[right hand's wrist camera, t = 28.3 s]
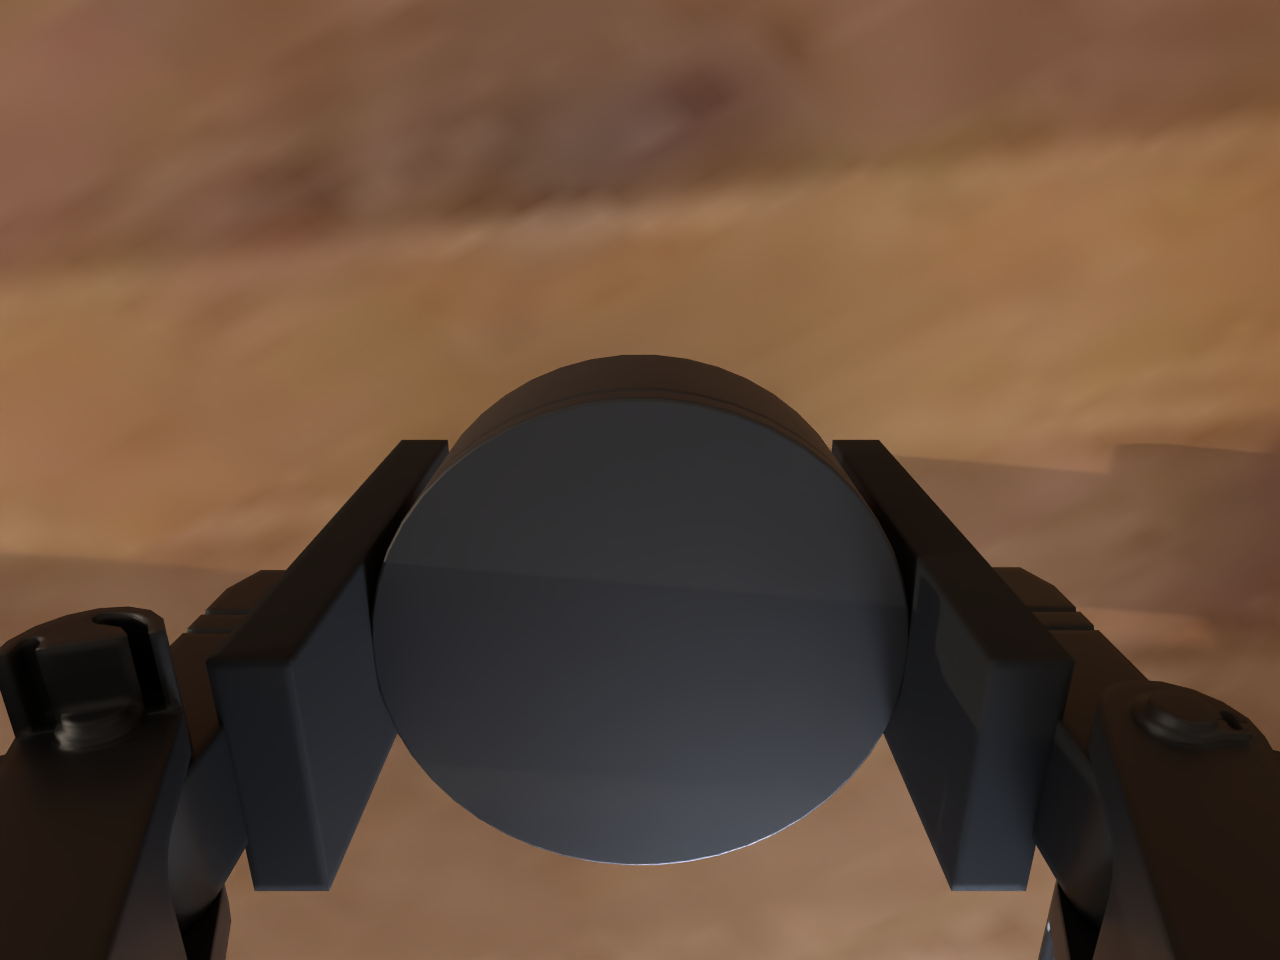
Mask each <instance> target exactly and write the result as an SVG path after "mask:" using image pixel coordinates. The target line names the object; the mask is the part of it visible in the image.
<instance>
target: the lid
mask: <svg viewBox="0 0 1280 960" xmlns="http://www.w3.org/2000/svg"><path fill="white" fill-rule="evenodd" d="M371 632H372V644H373V652H374V659H375V667H376V674H377V681H378V684H379V688H380V691H381V695H382V698H383V702H384V704H385V707H386V709H387V711H388V713H389V715H390V718H391V720H392V722H393V724H394V727H395V729H396V731H397V732H398V734H399V736H400V737H401V739H402V740H403V742H404V744H405V745H406V747H407V748H408V750H409V752H410V753H411V755H412V756H413V757H414V759H415V760H416V761H417V762H418V764H419V765H420V766H421V767H422V768H423V770H424V771H425V772H426V773H427V774H428V776H429V777H430V778H431V779H432V780H433V781H434V782H435V783H436V784H437V785H438V786H439V787H440V788H441V789H442V790H443V791H445V792H446V793H447V794H448V795H449V796H450V797H451V798H452V799H453V800H454V801H456V802H457V803H458V804H460V805H461V806H462V807H464V808H465V809H466V810H468V811H469V812H470V813H472V814H473V815H475V816H476V817H477V818H479V819H480V820H482V821H484V822H486V823H487V824H489V825H491V826H493V827H494V828H496V829H498V830H500V831H501V832H503V833H505V834H507V835H509V836H511V837H514V838H516V839H518V840H521V841H523V842H525V843H528V844H530V845H532V846H535V847H538V848H541V849H544V850H547V851H551V852H554V853H557V854H560V855H563V856H568V857H573V858H578V859H583V860H588V861H593V862H601V863H611V864H621V865H660V864H670V863H680V862H689V861H693V860H698V859H703V858H708V857H713V856H717V855H721V854H724V853H727V852H730V851H733V850H737V849H740V848H743V847H746V846H749V845H751V844H753V843H756V842H758V841H760V840H762V839H765V838H767V837H769V836H771V835H774V834H776V833H778V832H780V831H781V830H783V829H785V828H787V827H788V826H790V825H792V824H793V823H795V822H797V821H799V820H800V819H802V818H804V817H805V816H806V815H808V814H809V813H810V812H812V811H813V810H814V809H816V808H817V807H818V806H820V805H821V804H822V803H824V802H825V801H826V800H828V799H829V798H830V797H831V796H832V795H833V794H834V793H835V792H836V791H837V790H838V789H839V788H840V787H842V786H843V785H844V784H845V783H846V782H847V781H848V780H849V779H850V778H851V777H852V775H853V774H854V773H855V772H856V771H857V769H858V768H859V767H860V766H861V764H862V763H863V762H864V761H865V760H866V758H867V757H868V756H869V755H870V753H871V751H872V750H873V748H874V747H875V745H876V743H877V742H878V740H879V738H880V737H881V735H882V734H883V732H884V730H885V729H886V726H887V724H888V722H889V720H890V717H891V715H892V713H893V710H894V708H895V706H896V704H897V701H898V698H899V694H900V691H901V687H902V684H903V678H904V672H905V664H906V656H907V649H908V641H909V607H908V602H907V596H906V591H905V585H904V580H903V576H902V573H901V571H900V568H899V565H898V562H897V559H896V556H895V553H894V550H893V548H892V546H891V544H890V542H889V540H888V538H887V536H886V534H885V532H884V531H883V529H882V527H881V525H880V523H879V521H878V519H877V518H876V516H875V515H874V513H873V512H872V510H871V509H870V508H869V506H868V505H867V503H866V502H865V500H864V499H863V497H862V496H861V494H860V493H859V491H858V490H857V488H856V487H855V486H854V484H853V483H852V481H851V480H850V478H849V477H848V475H847V474H846V472H845V471H844V469H843V468H842V467H841V465H840V464H839V462H838V461H837V459H836V458H835V456H834V455H833V454H832V452H831V451H830V449H829V448H828V447H827V445H826V444H825V443H824V441H823V440H822V439H821V437H820V436H819V434H818V433H817V432H816V431H815V430H814V429H813V428H812V427H811V426H810V425H809V424H808V423H807V422H806V421H805V420H804V419H803V418H802V417H801V416H800V415H799V414H798V413H797V412H796V411H795V410H793V409H792V408H791V407H790V406H788V405H787V404H786V403H784V402H783V401H782V400H780V399H779V398H778V397H777V396H775V395H774V394H772V393H771V392H769V391H767V390H765V389H764V388H762V387H760V386H759V385H757V384H755V383H753V382H752V381H750V380H748V379H746V378H744V377H741V376H739V375H736V374H734V373H731V372H729V371H727V370H724V369H722V368H719V367H716V366H712V365H708V364H705V363H701V362H697V361H693V360H689V359H684V358H676V357H668V356H660V355H620V356H612V357H605V358H598V359H591V360H587V361H583V362H580V363H576V364H572V365H569V366H565V367H561V368H559V369H556V370H554V371H552V372H549V373H547V374H544V375H542V376H540V377H537V378H535V379H533V380H531V381H529V382H527V383H526V384H524V385H522V386H520V387H519V388H517V389H515V390H514V391H512V392H510V393H509V394H507V395H505V396H504V397H503V398H501V399H500V400H499V401H498V402H496V403H495V404H494V405H493V406H491V407H490V408H489V409H487V410H486V411H485V412H484V413H482V414H481V415H480V416H479V417H478V418H477V420H476V421H475V422H474V423H473V424H472V425H471V426H470V427H469V428H468V429H467V430H466V431H465V432H464V433H463V434H462V435H461V437H460V438H459V439H458V441H457V442H456V444H455V445H454V446H453V448H452V449H451V451H450V452H449V453H448V455H447V456H446V458H445V459H444V460H443V462H442V463H441V465H440V466H439V468H438V469H437V471H436V472H435V474H434V475H433V477H432V478H431V479H430V481H429V482H428V484H427V485H426V487H425V488H424V490H423V491H422V493H421V494H420V496H419V497H418V498H417V500H416V501H415V503H414V504H413V506H412V507H411V509H410V510H409V512H408V513H407V515H406V516H405V518H404V519H403V520H402V522H401V524H400V526H399V528H398V530H397V532H396V534H395V536H394V538H393V540H392V542H391V544H390V546H389V548H388V550H387V552H386V555H385V558H384V561H383V564H382V567H381V570H380V573H379V576H378V579H377V583H376V589H375V595H374V601H373V607H372V619H371Z"/></svg>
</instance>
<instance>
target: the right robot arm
mask: <svg viewBox="0 0 1280 960" xmlns="http://www.w3.org/2000/svg"><path fill="white" fill-rule="evenodd" d="M448 453H449V449H448V440H401V441H400V443H399V444H398V445H397V446H396V447H395V448H394V449H393V450H392V452H391V453H390V454H389V455H388V456H387V457H386V458H385V459H384V461H383V462H382V463H381V464H380V465H379V466H378V467H377V468H376V470H375V471H374V472H373V473H372V474H371V475H370V476H369V477H368V479H367V480H366V481H365V482H364V483H363V484H362V485H361V486H360V488H359V489H358V490H357V491H356V492H355V493H354V494H353V495H352V497H351V498H350V499H349V500H348V501H347V502H346V503H345V504H344V506H343V507H342V508H341V509H340V510H339V511H338V512H337V513H336V515H335V516H334V517H333V518H332V519H331V520H330V521H329V522H328V524H327V525H326V526H325V527H324V528H323V529H322V530H321V531H320V533H319V534H318V535H317V536H316V537H315V538H314V539H313V540H312V542H311V543H310V544H309V545H308V546H307V547H306V548H305V549H304V551H303V552H302V553H301V554H300V555H299V556H298V557H297V558H296V560H295V561H294V562H293V563H292V564H291V565H290V566H289V567H288V569H287V570H260V571H259V572H257V573H255V574H253V575H251V576H249V577H248V578H246V579H244V580H242V581H240V582H238V583H237V584H235V585H233V586H231V587H229V588H227V589H226V590H225V591H224V592H223V593H222V594H221V595H220V596H219V597H218V598H217V599H216V600H215V601H214V602H213V603H212V604H211V605H210V606H209V607H208V608H207V609H206V610H205V611H206V613H205V615H200V616H199V617H198V618H197V619H196V620H195V622H194V623H193V624H192V625H191V626H190V627H189V628H188V631H187V633H183V634H182V635H181V636H180V637H179V638H178V639H177V640H176V641H175V642H174V643H173V644H172V645H171V646H169V642H168V637H167V633H166V629H165V624H164V620H163V618H161V617H160V616H159V615H157V614H156V613H154V612H153V611H151V610H146V609H140V608H134V607H113V608H98V609H94V610H89V611H84V612H79V613H75V614H70V615H66V616H63V617H60V618H57V619H54V620H52V621H49V622H46V623H43V624H40V625H37V626H35V627H33V628H31V629H29V630H27V631H25V632H24V633H22V634H20V635H18V636H16V637H14V638H12V639H10V640H9V641H7V642H6V643H5V644H4V645H3V646H2V647H0V691H1V694H2V697H3V700H4V703H5V706H6V709H7V713H8V716H9V719H10V722H11V725H12V728H13V731H14V734H15V737H16V738H15V739H14V741H13V743H12V744H11V746H10V748H9V750H8V751H7V753H6V754H5V755H1V756H0V960H225V958H226V951H227V945H228V938H229V932H230V925H231V916H230V908H229V901H228V897H227V893H226V888H225V884H224V883H225V882H226V880H227V878H228V876H229V875H230V873H231V871H232V870H233V868H234V866H235V864H236V863H237V861H238V859H239V858H240V856H241V854H242V852H243V851H244V849H245V848H246V853H247V857H248V862H249V867H250V871H251V876H252V881H253V885H254V890H255V891H329V890H330V887H331V885H332V883H333V880H334V878H335V876H336V873H337V871H338V869H339V866H340V864H341V862H342V859H343V857H344V855H345V853H346V850H347V848H348V846H349V843H350V841H351V839H352V836H353V834H354V832H355V829H356V827H357V825H358V823H359V820H360V818H361V816H362V813H363V811H364V809H365V806H366V804H367V802H368V799H369V797H370V795H371V792H372V790H373V788H374V786H375V783H376V781H377V779H378V776H379V774H380V772H381V769H382V767H383V765H384V762H385V760H386V758H387V755H388V753H389V751H390V749H391V746H392V744H393V742H394V739H395V737H396V735H397V731H396V729H395V727H394V724H393V722H392V720H391V718H390V715H389V713H388V711H387V709H386V707H385V704H384V702H383V698H382V695H381V691H380V688H379V684H378V681H377V674H376V667H375V659H374V652H373V644H372V632H371V619H372V607H373V601H374V595H375V589H376V583H377V579H378V576H379V573H380V570H381V567H382V564H383V561H384V558H385V555H386V552H387V550H388V548H389V546H390V544H391V542H392V540H393V538H394V536H395V534H396V532H397V530H398V528H399V526H400V524H401V522H402V520H403V519H404V518H405V516H406V515H407V513H408V512H409V510H410V509H411V507H412V506H413V504H414V503H415V501H416V500H417V498H418V497H419V496H420V494H421V493H422V491H423V490H424V488H425V487H426V485H427V484H428V482H429V481H430V479H431V478H432V477H433V475H434V474H435V472H436V471H437V469H438V468H439V466H440V465H441V463H442V462H443V460H444V459H445V458H446V456H447V455H448ZM832 454H833V455H834V456H835V458H836V459H837V461H838V462H839V464H840V465H841V467H842V468H843V469H844V471H845V472H846V474H847V475H848V477H849V478H850V480H851V481H852V483H853V484H854V486H855V487H856V488H857V490H858V491H859V493H860V494H861V496H862V497H863V499H864V500H865V502H866V503H867V505H868V506H869V508H870V509H871V510H872V512H873V513H874V515H875V516H876V518H877V519H878V521H879V523H880V525H881V527H882V529H883V531H884V532H885V534H886V536H887V538H888V540H889V542H890V544H891V546H892V548H893V550H894V553H895V556H896V559H897V562H898V565H899V568H900V571H901V573H902V576H903V580H904V585H905V591H906V596H907V602H908V607H909V641H908V649H907V656H906V664H905V672H904V678H903V684H902V687H901V691H900V694H899V698H898V701H897V704H896V706H895V708H894V710H893V713H892V715H891V717H890V720H889V722H888V724H887V726H886V729H885V730H884V732H883V733H884V736H885V738H886V740H887V743H888V745H889V747H890V750H891V752H892V754H893V757H894V759H895V761H896V764H897V766H898V768H899V770H900V773H901V775H902V777H903V780H904V782H905V784H906V787H907V789H908V791H909V794H910V796H911V798H912V800H913V803H914V805H915V807H916V810H917V812H918V814H919V817H920V819H921V821H922V824H923V826H924V828H925V831H926V833H927V835H928V837H929V840H930V842H931V844H932V847H933V849H934V851H935V854H936V856H937V858H938V861H939V863H940V865H941V867H942V870H943V872H944V874H945V877H946V879H947V881H948V884H949V886H950V888H951V891H1026V888H1027V883H1028V879H1029V874H1030V869H1031V865H1032V860H1033V855H1034V851H1035V846H1036V845H1037V847H1038V849H1039V850H1040V852H1041V854H1042V856H1043V857H1044V859H1045V861H1046V862H1047V864H1048V866H1049V867H1050V869H1051V871H1052V873H1053V874H1054V876H1055V878H1056V879H1057V880H1056V884H1055V888H1054V893H1053V897H1052V901H1051V906H1050V910H1049V914H1048V919H1047V923H1046V927H1045V932H1044V936H1043V940H1042V945H1041V949H1040V953H1039V958H1038V960H1280V752H1279V751H1275V750H1272V748H1271V746H1270V745H1269V743H1268V741H1267V739H1266V738H1265V736H1264V735H1263V734H1262V733H1261V732H1260V731H1259V730H1258V728H1257V727H1256V726H1255V725H1254V724H1253V723H1252V722H1251V721H1250V720H1249V719H1248V718H1247V717H1245V716H1244V715H1242V714H1241V713H1239V712H1238V711H1236V710H1234V709H1233V708H1231V707H1230V706H1228V705H1227V704H1225V703H1224V702H1222V701H1219V700H1217V699H1214V698H1212V697H1210V696H1207V695H1205V694H1202V693H1200V692H1198V691H1195V690H1193V689H1189V688H1185V687H1181V686H1177V685H1173V684H1169V683H1165V682H1159V681H1149V680H1148V679H1147V678H1146V677H1145V676H1144V675H1143V674H1142V673H1141V672H1140V671H1139V670H1138V669H1137V668H1136V667H1135V666H1134V665H1133V664H1132V663H1131V662H1130V661H1129V660H1128V659H1127V658H1126V657H1125V656H1124V655H1123V654H1122V653H1121V652H1120V651H1119V650H1118V649H1117V648H1116V647H1115V646H1114V645H1113V644H1112V643H1111V642H1110V641H1109V640H1108V639H1107V638H1106V637H1105V636H1104V635H1103V634H1102V633H1101V632H1100V631H1099V630H1094V625H1093V624H1092V623H1091V622H1090V621H1089V620H1088V619H1087V618H1086V617H1085V616H1084V615H1083V614H1082V613H1081V612H1076V607H1075V606H1074V605H1073V604H1072V603H1071V602H1070V601H1069V600H1068V599H1067V598H1066V597H1065V596H1064V595H1063V594H1062V593H1061V592H1060V591H1059V590H1058V589H1057V588H1056V587H1055V586H1054V585H1052V584H1050V583H1048V582H1046V581H1044V580H1042V579H1041V578H1039V577H1037V576H1035V575H1033V574H1031V573H1029V572H1028V571H1026V570H1024V569H1022V568H1020V567H991V566H990V565H989V563H988V562H987V561H986V560H985V559H984V558H983V557H982V556H981V554H980V553H979V552H978V551H977V550H976V549H975V548H974V547H973V545H972V544H971V543H970V542H969V541H968V540H967V539H966V538H965V536H964V535H963V534H962V533H961V532H960V531H959V530H958V529H957V527H956V526H955V525H954V524H953V523H952V522H951V521H950V520H949V518H948V517H947V516H946V515H945V514H944V513H943V512H942V511H941V509H940V508H939V507H938V506H937V505H936V504H935V503H934V502H933V500H932V499H931V498H930V497H929V496H928V495H927V494H926V493H925V491H924V490H923V489H922V488H921V487H920V486H919V485H918V484H917V482H916V481H915V480H914V479H913V478H912V477H911V476H910V475H909V473H908V472H907V471H906V470H905V469H904V468H903V467H902V466H901V464H900V463H899V462H898V461H897V460H896V459H895V458H894V457H893V455H892V454H891V453H890V452H889V451H888V450H887V449H886V448H885V446H884V445H883V444H882V443H881V442H880V441H879V440H833V444H832Z"/></svg>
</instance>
